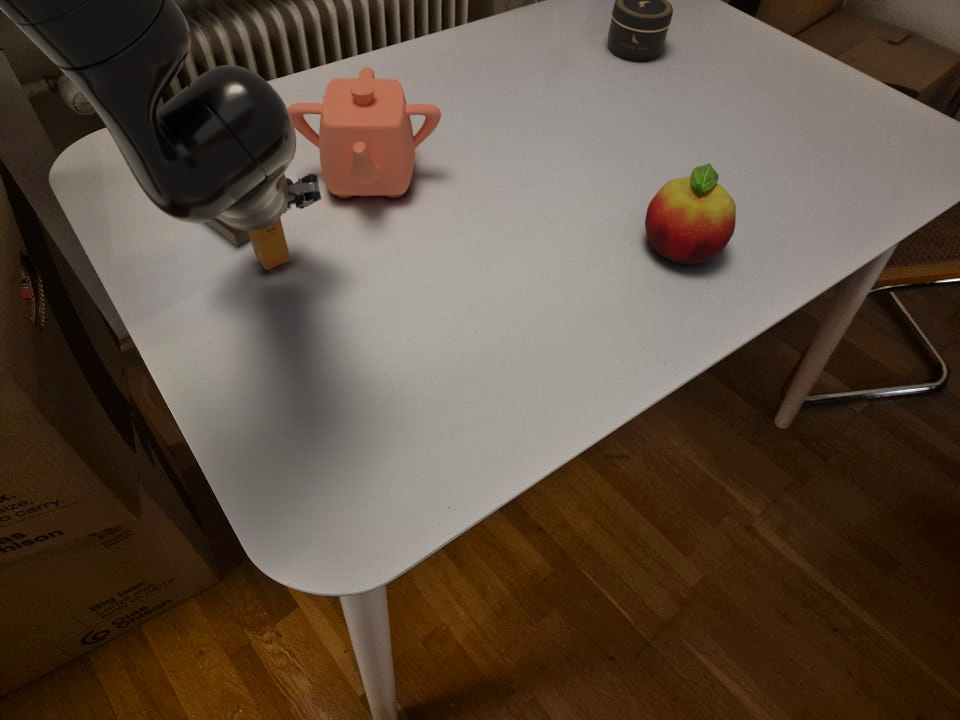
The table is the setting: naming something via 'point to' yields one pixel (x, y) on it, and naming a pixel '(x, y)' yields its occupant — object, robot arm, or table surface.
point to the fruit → (691, 217)
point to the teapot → (365, 135)
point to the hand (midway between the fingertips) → (260, 207)
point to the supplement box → (270, 245)
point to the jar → (639, 28)
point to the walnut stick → (230, 232)
